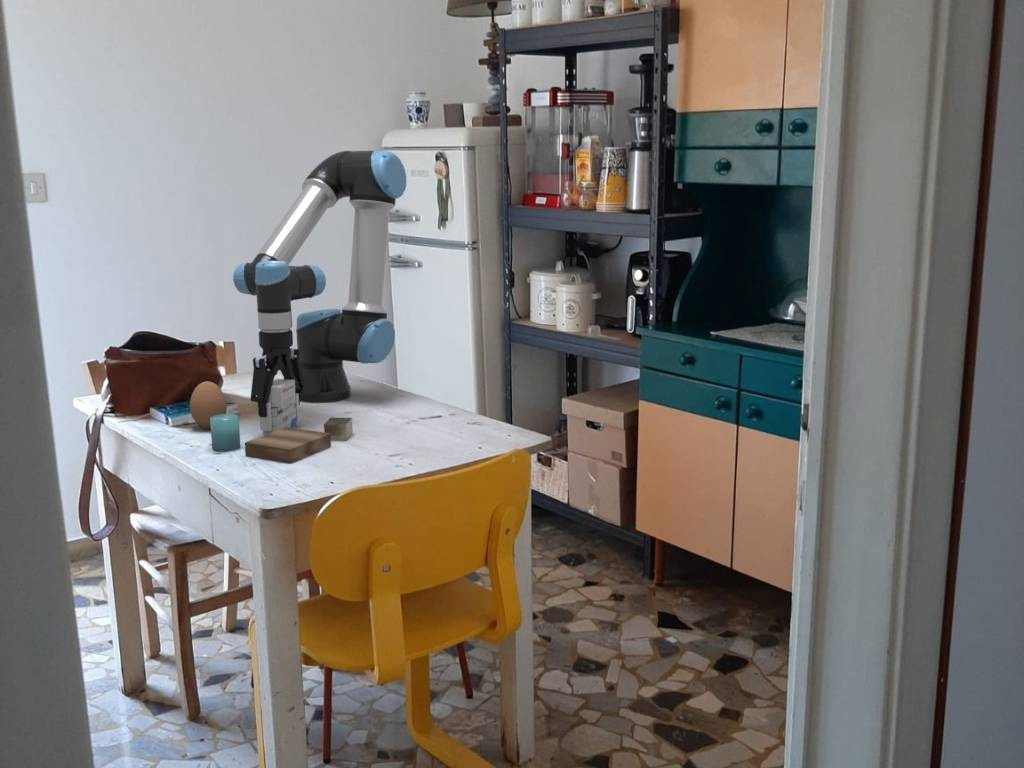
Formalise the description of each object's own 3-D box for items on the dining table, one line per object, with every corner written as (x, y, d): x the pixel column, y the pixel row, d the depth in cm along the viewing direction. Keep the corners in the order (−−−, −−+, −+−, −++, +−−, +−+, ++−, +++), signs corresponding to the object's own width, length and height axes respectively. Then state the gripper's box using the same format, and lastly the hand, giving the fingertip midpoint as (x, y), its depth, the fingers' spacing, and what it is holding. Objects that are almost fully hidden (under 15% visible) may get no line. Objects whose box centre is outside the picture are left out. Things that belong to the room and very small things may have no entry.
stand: (287, 439, 222) (287, 427, 221) (331, 446, 217) (330, 433, 216) (245, 456, 210) (244, 442, 209) (290, 463, 205) (289, 449, 204)
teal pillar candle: (225, 443, 220) (223, 412, 218) (246, 446, 217) (244, 415, 216) (206, 449, 215) (204, 418, 213) (227, 453, 212) (225, 421, 210)
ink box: (278, 426, 234) (276, 377, 231) (298, 427, 233) (296, 378, 230) (262, 435, 225) (259, 385, 223) (283, 437, 224) (280, 386, 222)
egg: (202, 422, 237) (199, 377, 234) (234, 424, 235) (231, 378, 233) (184, 431, 229) (181, 384, 226) (217, 433, 227) (214, 386, 225)
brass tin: (331, 434, 227) (330, 417, 227) (352, 434, 227) (352, 417, 226) (324, 441, 222) (324, 424, 221) (346, 441, 221) (345, 424, 220)
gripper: (292, 321, 235) (297, 412, 240) (229, 335, 216) (235, 434, 221) (318, 323, 232) (322, 416, 237) (256, 338, 212) (261, 438, 217)
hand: (280, 424), depth 229 cm, fingers closed on ink box, 9 cm apart
